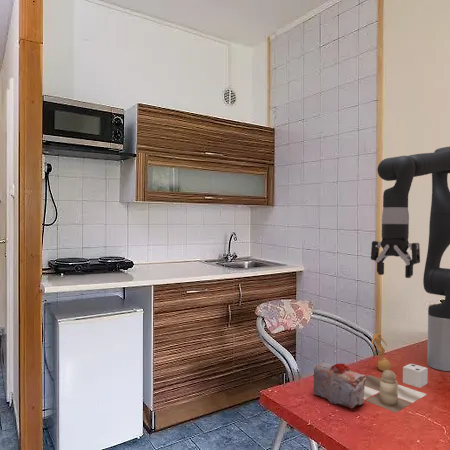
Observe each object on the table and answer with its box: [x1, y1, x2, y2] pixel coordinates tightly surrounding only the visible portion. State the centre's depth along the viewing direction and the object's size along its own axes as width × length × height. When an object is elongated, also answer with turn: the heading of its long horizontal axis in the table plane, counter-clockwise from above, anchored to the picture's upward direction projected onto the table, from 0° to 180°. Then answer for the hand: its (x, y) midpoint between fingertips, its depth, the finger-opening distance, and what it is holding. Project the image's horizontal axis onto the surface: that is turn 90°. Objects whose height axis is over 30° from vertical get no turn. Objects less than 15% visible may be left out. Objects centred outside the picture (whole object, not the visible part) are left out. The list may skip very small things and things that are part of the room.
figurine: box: [371, 332, 392, 372], centre depth 129 cm, size 8×6×12 cm
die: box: [402, 363, 429, 389], centre depth 119 cm, size 5×5×5 cm
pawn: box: [379, 369, 399, 405], centre depth 106 cm, size 4×4×8 cm
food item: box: [312, 362, 367, 409], centre depth 107 cm, size 14×8×10 cm, turn 44°
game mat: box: [364, 374, 428, 414], centre depth 112 cm, size 18×18×1 cm
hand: (394, 276), depth 120 cm, fingers open, 8 cm apart
